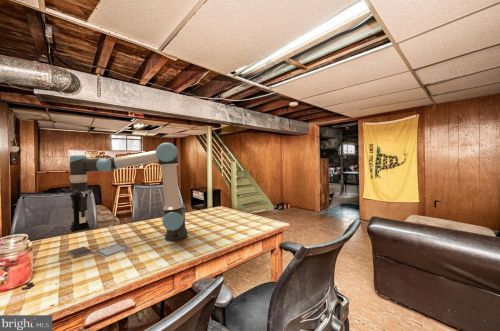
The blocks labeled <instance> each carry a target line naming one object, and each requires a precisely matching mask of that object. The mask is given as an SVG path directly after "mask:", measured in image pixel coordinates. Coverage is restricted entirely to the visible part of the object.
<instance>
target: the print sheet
mask: <svg viewBox="0 0 500 331" xmlns="http://www.w3.org/2000/svg"><path fill="white" fill-rule="evenodd" d="M130 249H132V248H131V247H129V246H127V245H125V244H121V243H119V242H118V243H116V244H112V245H110V246H107V247H106V246H105V247H103V248H100V249H95V250H93V253H95V254H97V255H99V256H100V257H101V256H102V257H103V258H108V257H110V256H113V255H116V254H119V253H122V252H125V251H127V250H130Z"/></svg>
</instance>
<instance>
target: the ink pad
mask: <svg viewBox="0 0 500 331" xmlns="http://www.w3.org/2000/svg"><path fill="white" fill-rule="evenodd" d="M66 252H67V253H66V254H68V255H69V256H70V257H72V258H78V257H82V256H84V255H87V254H90V253H92V249H89V248H88V247H86V246H81V247H77V248H74V249H70V250H67V251H66Z"/></svg>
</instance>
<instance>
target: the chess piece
mask: <svg viewBox="0 0 500 331" xmlns="http://www.w3.org/2000/svg"><path fill="white" fill-rule="evenodd" d="M86 197H87V198H88V197H89V193H87V196H86ZM69 198H70V200H71V202H72V201H73V204H72V203H71V207H72V206H73V209H72V210H73V221H72V222H71V224H70V227H69V231H71V233H75V232H79V231H84V230H85V231H86V230H90V229H91V227H90V224H89V221H88V220H87V219H86V222H85V223H80V222H79V212H78V211H80V208H79V202H78V201H79V200H78V199H80V197H76V196H75V195H73V194H72V193H71V194H69ZM80 200H81V199H80ZM83 209H84V208H83Z"/></svg>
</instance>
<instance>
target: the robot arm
mask: <svg viewBox="0 0 500 331" xmlns="http://www.w3.org/2000/svg"><path fill="white" fill-rule="evenodd" d="M179 156H180V151H179V148H178V147H177V146H176V145H174V144H173V143H172V142H163V143H161V144H159V145H158V146H157V148H156V149H155V150H149V151H145V152H139V153H135V154H134V153H133V154H129V155H123V156H117V157H112V158H111V157H110V158H87V156H86V155H85V154H84V155H82V154H80V155H79V154H78V155H77V154H76V155H75V154H73V155H70V156H69V163H68V164H69V175H70V176H69V177H68V179H69V181H70V183H69V189H70V190H74V191H72V192H71V194H73V195H75V196H76V197H80V199H81V200H80V199H78V200H79V201H78V202H79V208H80V211H78V212H79V222H80V223H85V222H86V220H87V213H86V212H87V211H88V196H87V194H88V193H87V192H85V191H84V190H85V189H87V188H88V182H87V181H88V172H110V171H111V172H112V171H114V170H118V169H123V168H129V167H135V166H139V165H141V166H142V165H145V164H150V163H151V164H152V163H156V162H158V166H159V167H160V168H161V173H162V186H163V196H164V207H163V208H162V214H163V216H162V226H163V227H164V228H165V229H166V231H165V233H164V240H165V241H168V242H179V241H183V240H185V239H187V238H188V235H189V234H188V230H187V227H186V205H185V204H181V203H180V195H179V193H180V192H179V183H178V182H179V181H178V171H177V170H178V169H177V166H178V165H179V163H180V162H179ZM86 196H87V197H86ZM72 204H73V201H72V200H71V209H72V210H73V206H72ZM83 208H84V209H83Z"/></svg>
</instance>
